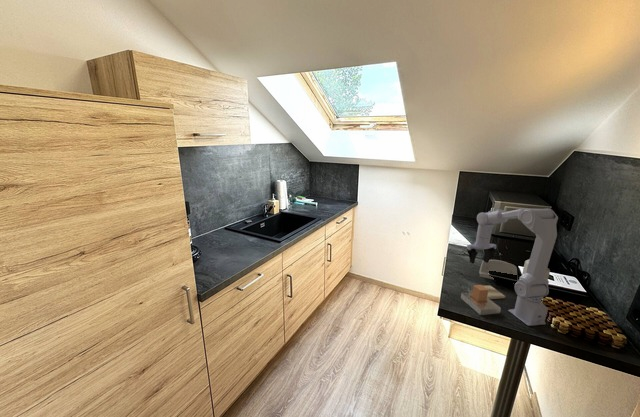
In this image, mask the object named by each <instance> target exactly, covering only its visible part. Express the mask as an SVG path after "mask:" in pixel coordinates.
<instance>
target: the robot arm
mask: <svg viewBox="0 0 640 417" xmlns="http://www.w3.org/2000/svg"><path fill="white" fill-rule="evenodd" d="M511 219H512V220H513V219H518V221H520V222H521V223H522V224H523V225H524V226H525V227H526V228H527V229H528V230H530V231H531V232H532V233H533V234H535V236H536V237H535V240H534V243H533V247H532V250H531V254H530V257H529V259H530V260H529V264H528V267H527V271H526V273H525V274H523V275H522V274H521V276H519V277H518V278H519V279H517V282H516V283H515V284H514V291H515V293H516V295H517V296H516V301H515V306H514V308H512V309H508V310H507V311H508V312H509V313H510V314H512V315H513V316H514V317H515V318H517V319H519V320H520V321H522V322H523V323H524V324H525V325H527V327H529V326H530V327H531V326H540V325H542V326H543V325H546V317H547V314H548V307H547V306H546V305H545V304H544V303H543V301H541V299H544V297H546V296H548V295H549V293H550V291H549V290H550V289H549V283H550V282H549V279H548V280H547V279H546V278H545V277H544V276H545V273H546V269H547V268H548V266H549V263H550V259H551V256H552V253H553V250H554V247H555V243H556V240H557V238H558V231H557V230H558V229H557V224H558V220H559V216H558V215H557V214H556V213H555V211H554V210H553V209H551V208H549V207H547V208H519V209H518V208H517V209H513V210H508V211H506V210H504V209H502V208H496V209H495V210H488V212H483V211H482V212H479V213H478V214H477V215H476V221H477V223H478V226H477V232H476V237H475V242H474V243H472V244H471V243H470V244H467V245H466V252H467V253H468V257H469V258H468V259H469V262H470V264H475V261H476V257H477V255H478V254H479V251H477V250H483V251H484V252H483V260H484V262H486V263H488V261H489V260H491V258H492V256H493V255H495V254H496V251H497V250H496V249H497V244H495V243H490V242H491V236H492V232H493V229H494V227H495V224H496V225H497V224H503V223H507V222H508V221H509V220H511Z"/></svg>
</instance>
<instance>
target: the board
mask: <svg viewBox="0 0 640 417" xmlns="http://www.w3.org/2000/svg"><path fill="white" fill-rule="evenodd" d="M483 286H484V287H485V288H487V289H488V295H487V298H489V299H490V300H495V299H498V300H499V299H505V298H506V295H505V294H503V293H502V292H500V291H499V290H497V289H496V288H495V287H493V286H492V285H491V284H490V285H483Z"/></svg>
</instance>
